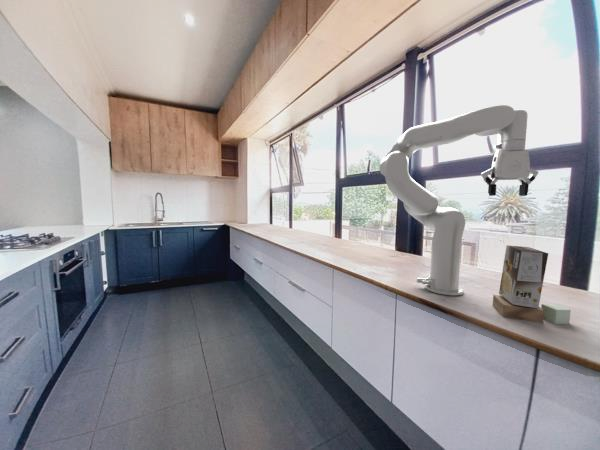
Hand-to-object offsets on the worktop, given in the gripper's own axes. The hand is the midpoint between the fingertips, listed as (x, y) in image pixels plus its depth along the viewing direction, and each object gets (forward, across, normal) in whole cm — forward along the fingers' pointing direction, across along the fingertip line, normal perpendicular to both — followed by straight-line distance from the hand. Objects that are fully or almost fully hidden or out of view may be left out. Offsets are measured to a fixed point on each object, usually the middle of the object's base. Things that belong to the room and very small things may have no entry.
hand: (507, 195), depth 88 cm
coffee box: (+33, -6, -19) cm, 38 cm away
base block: (+37, -6, -19) cm, 42 cm away
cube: (+36, +2, -22) cm, 43 cm away
